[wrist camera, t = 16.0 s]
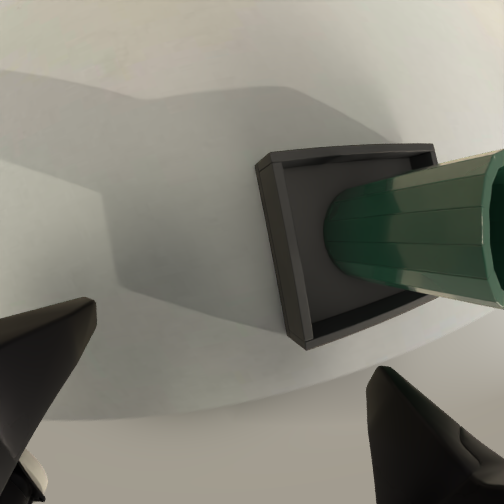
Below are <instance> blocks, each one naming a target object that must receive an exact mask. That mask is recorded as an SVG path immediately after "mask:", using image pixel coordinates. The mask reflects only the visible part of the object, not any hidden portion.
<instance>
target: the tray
mask: <svg viewBox="0 0 504 504" xmlns="http://www.w3.org/2000/svg"><path fill="white" fill-rule="evenodd" d="M436 164H438V162H437V158H436V154H435V149H434V145H433V144H421V143H413V144H368V145H348V146H332V147H319V148H307V149H296V150H286V151H277V152H270V153H268V154H267V155H266V156H265V157H264V158H263V159H261V160H260V161H259V162H258V163H257V164H256V165H255V169H256V174H257V179H258V184H259V189H260V194H261V199H262V204H263V209H264V214H265V219H266V224H267V229H268V234H269V239H270V244H271V250H272V255H273V260H274V265H275V271H276V276H277V281H278V287H279V292H280V298H281V303H282V309H283V314H284V320H285V325H286V331H287V336H288V337H290V338H291V339H292V340H293V341H295V342H296V343H297V344H298V345H300V346H301V347H302V348H303V349H305V350H310V349H313V348H316V347H319V346H322V345H324V344H327V343H330V342H333V341H335V340H338V339H341V338H344V337H346V336H349V335H352V334H354V333H357V332H359V331H362V330H364V329H367V328H369V327H372V326H374V325H377V324H379V323H382V322H384V321H386V320H389V319H391V318H394V317H396V316H398V315H401V314H403V313H405V312H407V311H410V310H412V309H414V308H416V307H418V306H421V305H423V304H425V303H427V302H429V301H431V300H433V299H436V298H438V297H439V296H434V295H429V294H425V293H420V292H415V291H410V290H405V289H400V288H396V287H391V286H386V285H381V284H376V283H372V282H367V281H362V280H359V279H356V278H352V277H349V276H347V275H346V274H344V273H342V272H341V271H340V270H339V269H338V268H337V267H336V266H335V265H334V263H333V262H332V261H331V259H330V257H329V255H328V253H327V250H326V247H325V243H324V235H323V227H324V220H325V216H326V212H327V210H328V208H329V206H330V204H331V202H332V201H333V200H334V198H335V197H336V196H337V195H338V194H339V193H341V192H342V191H343V190H345V189H347V188H350V187H353V186H356V185H359V184H362V183H366V182H369V181H373V180H377V179H381V178H384V177H388V176H392V175H396V174H400V173H404V172H408V171H411V170H415V169H419V168H423V167H427V166H432V165H436Z"/></svg>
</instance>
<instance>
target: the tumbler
mask: <svg viewBox="0 0 504 504" xmlns="http://www.w3.org/2000/svg"><path fill="white" fill-rule="evenodd" d="M323 235H324V243H325V247H326V250H327V253H328V255H329V257H330V259H331V261H332V262H333V263H334V265H335V266H336V267H337V268H338V269H339V270H340V271H341V272H342V273H344V274H346V275H347V276H349V277H352V278H356V279H359V280H362V281H367V282H372V283H376V284H381V285H386V286H391V287H396V288H400V289H405V290H410V291H415V292H420V293H425V294H429V295H434V296H439V297H444V298H449V299H454V300H459V301H464V302H468V303H473V304H478V305H483V306H488V307H493V308H498V309H503V310H504V149H500V150H496V151H491V152H487V153H482V154H478V155H474V156H469V157H465V158H461V159H456V160H452V161H448V162H444V163H440V164H436V165H432V166H427V167H423V168H419V169H415V170H411V171H408V172H404V173H400V174H396V175H392V176H388V177H384V178H381V179H377V180H373V181H369V182H366V183H362V184H359V185H356V186H353V187H350V188H347V189H345V190H343V191H342V192H341V193H339V194H338V195H337V196H336V197H335V198H334V200H333V201H332V202H331V204H330V206H329V208H328V210H327V212H326V216H325V220H324V227H323Z"/></svg>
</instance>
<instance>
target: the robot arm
mask: <svg viewBox="0 0 504 504" xmlns="http://www.w3.org/2000/svg"><path fill="white" fill-rule="evenodd" d="M96 325H97V312H96V302H95V301H94V300H92V299H90V298H87V297H81V298H77V299H73V300H69V301H66V302H62V303H58V304H54V305H50V306H47V307H43V308H39V309H35V310H31V311H28V312H24V313H20V314H16V315H12V316H9V317H5V318H1V319H0V504H32V503H33V501H36V502H45V500H46V498H45V496H44V495H43V494H42V492H41V491H40V490H39V488H38V487H37V486H36V484H35V483H34V482H33V480H32V479H31V477H30V476H29V474H28V473H27V472H26V470H25V469H24V467H23V466H22V464H21V463H20V461H19V458H20V456H21V455H22V453H23V451H24V449H25V447H26V446H27V444H28V442H29V440H30V439H31V437H32V435H33V433H34V432H35V430H36V428H37V427H38V425H39V423H40V422H41V420H42V418H43V417H44V415H45V413H46V412H47V410H48V408H49V407H50V405H51V404H52V402H53V400H54V399H55V397H56V396H57V394H58V392H59V391H60V389H61V388H62V386H63V385H64V383H65V382H66V380H67V379H68V377H69V376H70V374H71V372H72V371H73V369H74V368H75V366H76V365H77V363H78V361H79V359H80V357H81V355H82V354H83V352H84V350H85V348H86V346H87V344H88V342H89V340H90V338H91V336H92V335H93V333H94V331H95V329H96ZM366 398H367V424H368V435H369V442H370V449H371V457H372V465H373V474H374V482H375V492H376V503H377V504H504V459H503V458H502V457H501V456H499V455H498V454H497V453H495V452H494V451H492V450H491V449H489V448H488V447H487V446H485V445H484V444H482V443H481V442H480V441H479V440H477V439H476V438H475V437H473V436H472V435H471V434H470V433H469V432H467V431H466V430H465V429H464V428H463V427H462V426H460V425H459V424H458V423H456V421H454V420H453V419H452V418H451V417H449V416H448V415H447V414H446V413H445V412H444V411H442V410H441V409H440V408H439V407H438V406H436V405H435V404H434V403H433V402H432V401H431V400H429V399H428V398H427V397H426V396H424V395H423V394H422V393H421V392H420V391H419V390H417V389H416V388H415V387H414V386H412V385H411V384H410V383H409V382H407V380H405V379H404V378H403V377H402V376H401V375H399V374H398V373H397V372H396V371H395V370H393V369H392V368H391V367H388V366H378V367H377V369H376V370H375V372H374V374H373V375H372V377H371V379H370V381H369V383H368V385H367V388H366Z"/></svg>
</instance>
